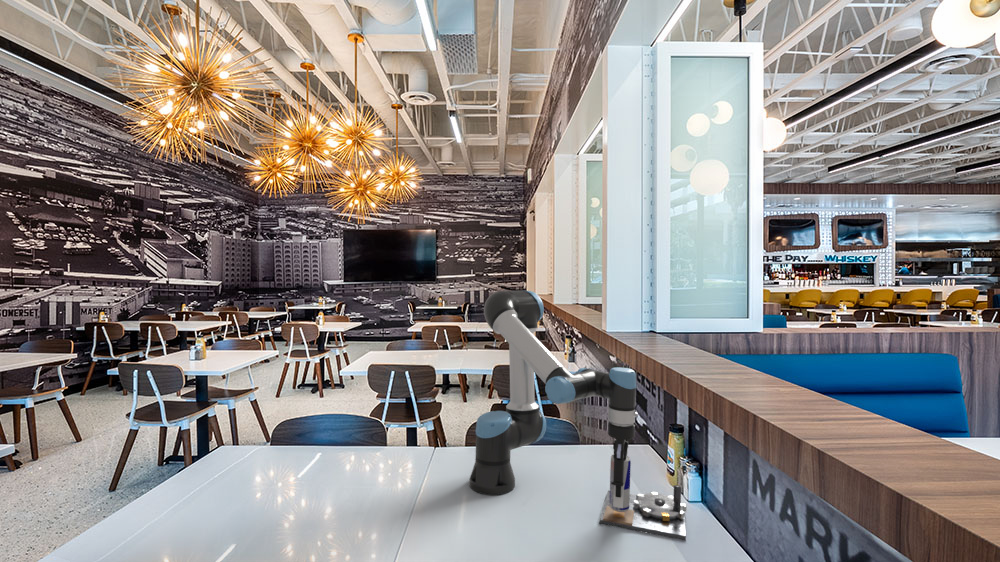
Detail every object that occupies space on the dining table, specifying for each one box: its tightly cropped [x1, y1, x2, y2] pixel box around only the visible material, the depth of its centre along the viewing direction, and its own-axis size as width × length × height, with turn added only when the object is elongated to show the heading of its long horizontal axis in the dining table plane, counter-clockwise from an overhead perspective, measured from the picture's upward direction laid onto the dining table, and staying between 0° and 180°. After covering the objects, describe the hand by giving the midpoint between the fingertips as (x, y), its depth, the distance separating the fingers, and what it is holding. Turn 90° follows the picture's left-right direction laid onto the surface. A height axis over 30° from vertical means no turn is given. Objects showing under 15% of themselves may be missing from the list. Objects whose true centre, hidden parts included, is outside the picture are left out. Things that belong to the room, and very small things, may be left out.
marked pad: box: [603, 506, 634, 526], centre depth 141 cm, size 8×8×1 cm
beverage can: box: [609, 453, 632, 512], centre depth 141 cm, size 6×6×15 cm
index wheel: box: [634, 484, 687, 521], centre depth 146 cm, size 15×15×8 cm
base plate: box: [599, 489, 687, 541], centre depth 144 cm, size 23×20×1 cm
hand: (619, 502), depth 141 cm, fingers closed on beverage can, 5 cm apart
